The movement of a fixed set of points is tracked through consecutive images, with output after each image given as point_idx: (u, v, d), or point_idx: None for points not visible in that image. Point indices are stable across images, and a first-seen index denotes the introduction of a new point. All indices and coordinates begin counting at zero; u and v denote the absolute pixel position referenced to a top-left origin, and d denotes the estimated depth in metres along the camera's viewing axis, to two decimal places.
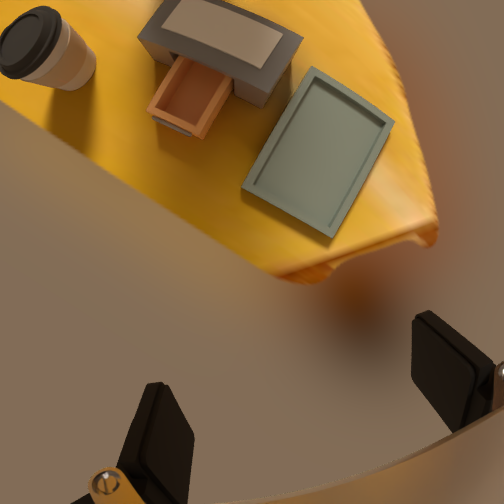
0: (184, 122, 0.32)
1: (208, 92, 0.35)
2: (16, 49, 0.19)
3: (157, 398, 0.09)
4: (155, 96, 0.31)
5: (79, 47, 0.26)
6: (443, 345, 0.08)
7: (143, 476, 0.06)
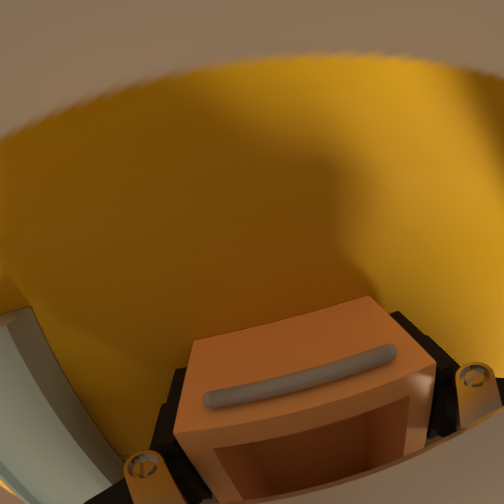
0: (261, 436, 0.07)
1: (285, 438, 0.12)
2: None
3: None
4: (424, 414, 0.07)
5: None
6: None
7: (179, 457, 0.07)
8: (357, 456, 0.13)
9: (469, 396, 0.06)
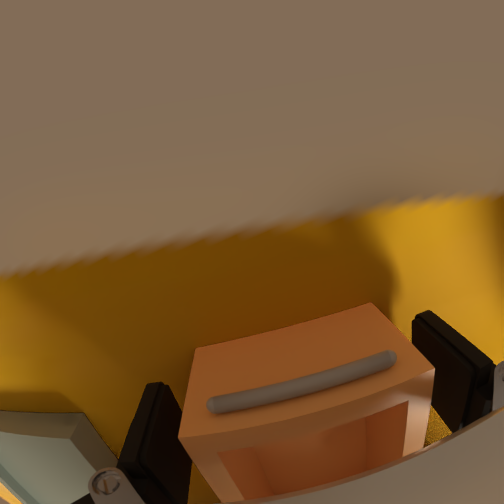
0: (264, 440, 0.07)
1: (286, 440, 0.12)
2: None
3: (157, 398, 0.09)
4: (423, 417, 0.07)
5: None
6: (443, 345, 0.08)
7: (143, 476, 0.06)
8: (357, 457, 0.13)
9: None
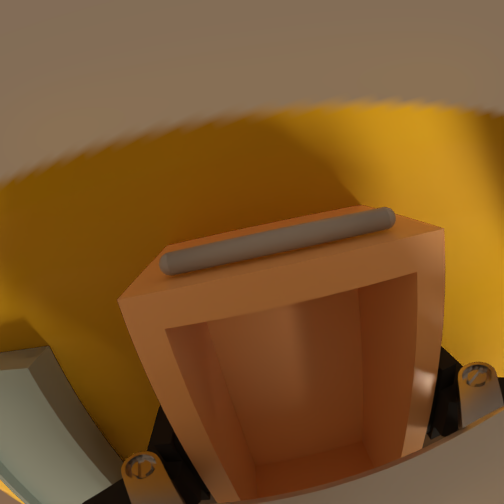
0: (227, 309, 0.06)
1: (267, 379, 0.11)
2: None
3: None
4: (437, 311, 0.06)
5: None
6: None
7: (177, 458, 0.07)
8: (352, 415, 0.12)
9: (471, 396, 0.06)
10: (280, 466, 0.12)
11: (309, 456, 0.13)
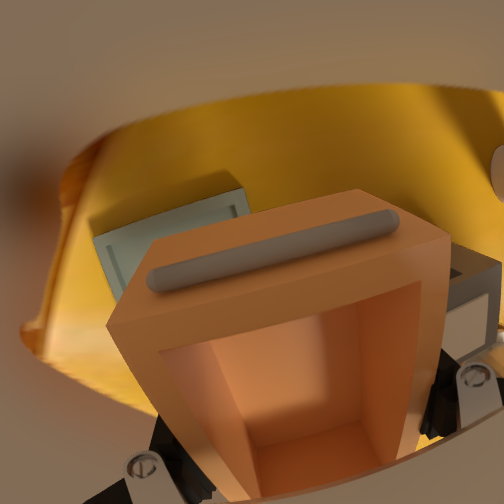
0: (222, 330, 0.06)
1: (264, 368, 0.11)
2: None
3: None
4: (439, 316, 0.06)
5: None
6: None
7: (178, 458, 0.07)
8: (350, 397, 0.13)
9: (470, 396, 0.06)
10: (281, 447, 0.13)
11: (309, 436, 0.13)
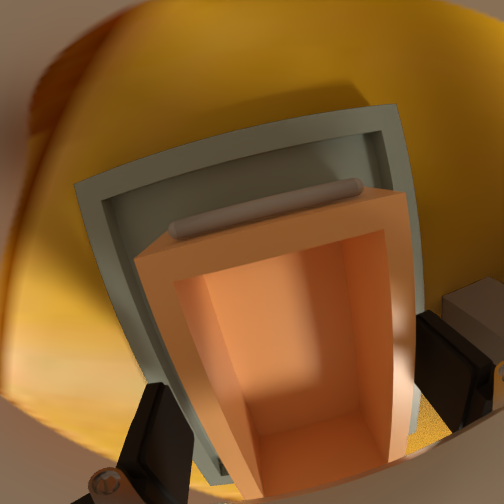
0: (224, 262, 0.07)
1: (265, 346, 0.13)
2: None
3: (157, 398, 0.09)
4: (407, 265, 0.08)
5: None
6: (443, 345, 0.08)
7: (143, 476, 0.06)
8: (347, 383, 0.13)
9: None
10: (282, 436, 0.14)
11: (309, 426, 0.14)
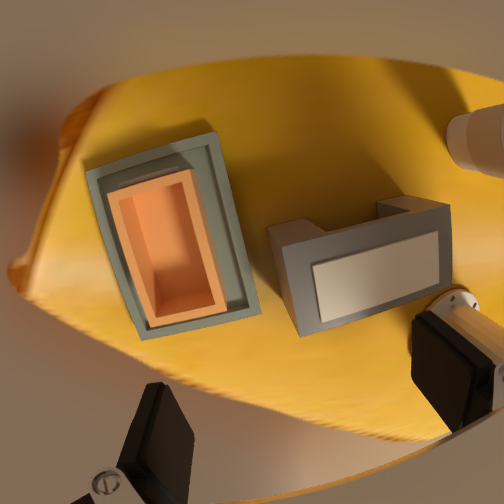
0: (132, 193, 0.23)
1: (162, 242, 0.28)
2: None
3: (157, 398, 0.09)
4: (192, 194, 0.23)
5: (486, 162, 0.24)
6: (443, 345, 0.08)
7: (143, 476, 0.06)
8: (204, 266, 0.29)
9: None
10: (174, 297, 0.30)
11: (189, 293, 0.30)
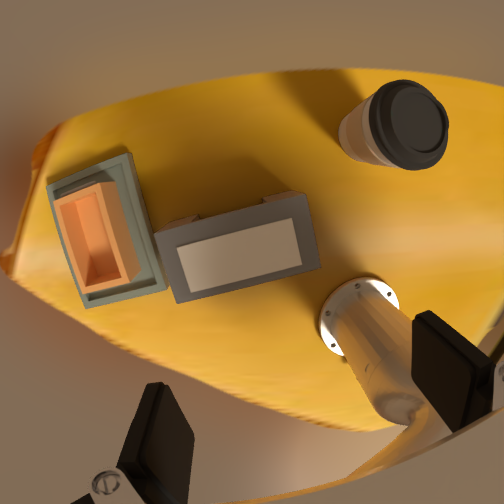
0: (67, 200, 0.32)
1: (94, 234, 0.37)
2: (411, 108, 0.23)
3: (157, 398, 0.09)
4: (102, 199, 0.32)
5: (361, 152, 0.31)
6: (443, 345, 0.08)
7: (143, 476, 0.06)
8: None
9: None
10: (104, 275, 0.38)
11: (114, 272, 0.38)
